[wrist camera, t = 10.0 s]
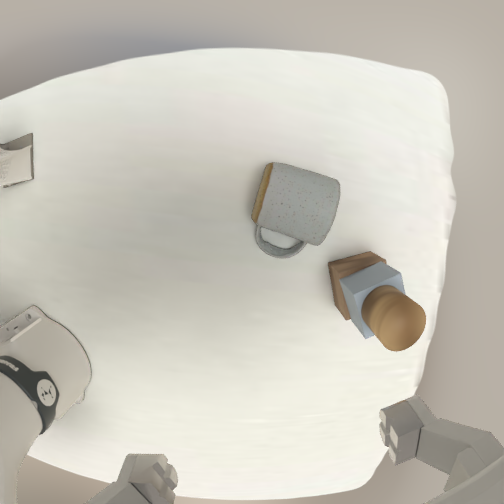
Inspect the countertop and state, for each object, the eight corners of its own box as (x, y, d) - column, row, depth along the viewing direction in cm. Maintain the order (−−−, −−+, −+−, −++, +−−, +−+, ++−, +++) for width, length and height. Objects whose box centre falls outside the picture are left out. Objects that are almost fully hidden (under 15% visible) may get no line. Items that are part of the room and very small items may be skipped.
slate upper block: (351, 319, 34) (365, 339, 29) (339, 279, 33) (353, 294, 28) (390, 301, 34) (409, 317, 29) (381, 261, 33) (400, 273, 28)
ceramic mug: (264, 161, 35) (268, 155, 27) (329, 180, 35) (349, 180, 28) (241, 245, 37) (239, 261, 30) (304, 262, 38) (318, 281, 30)
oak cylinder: (364, 334, 29) (382, 358, 24) (358, 293, 28) (378, 313, 23) (403, 319, 29) (426, 340, 24) (400, 278, 28) (424, 295, 23)
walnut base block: (334, 304, 39) (346, 320, 34) (327, 262, 38) (338, 273, 33) (375, 292, 39) (390, 306, 34) (369, 251, 37) (386, 260, 33)
